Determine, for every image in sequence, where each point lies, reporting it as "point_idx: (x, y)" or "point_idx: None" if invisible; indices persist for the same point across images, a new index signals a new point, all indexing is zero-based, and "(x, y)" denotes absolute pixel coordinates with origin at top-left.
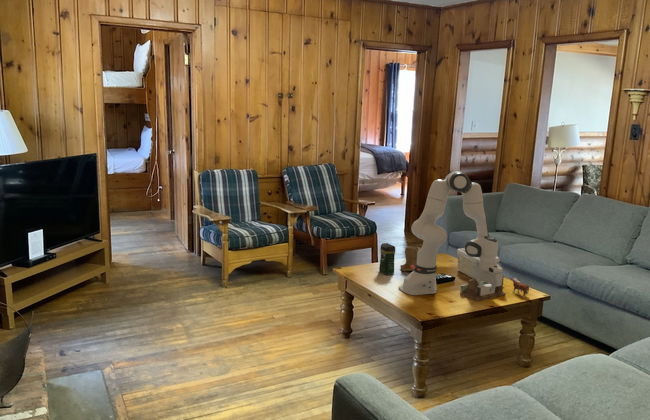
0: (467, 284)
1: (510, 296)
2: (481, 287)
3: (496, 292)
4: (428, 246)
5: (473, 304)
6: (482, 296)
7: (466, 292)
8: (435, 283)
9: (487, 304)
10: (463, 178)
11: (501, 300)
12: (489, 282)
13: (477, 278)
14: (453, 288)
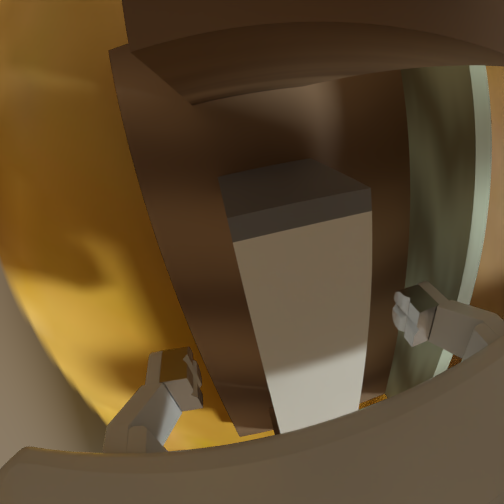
0: (484, 131)
1: (204, 435)
2: (268, 272)
3: (269, 397)
4: None
5: (48, 5)
6: (187, 208)
7: (383, 79)
8: None
9: (15, 170)
10: None
11: (119, 360)
12: (162, 476)
13: (497, 340)
14: (500, 93)
